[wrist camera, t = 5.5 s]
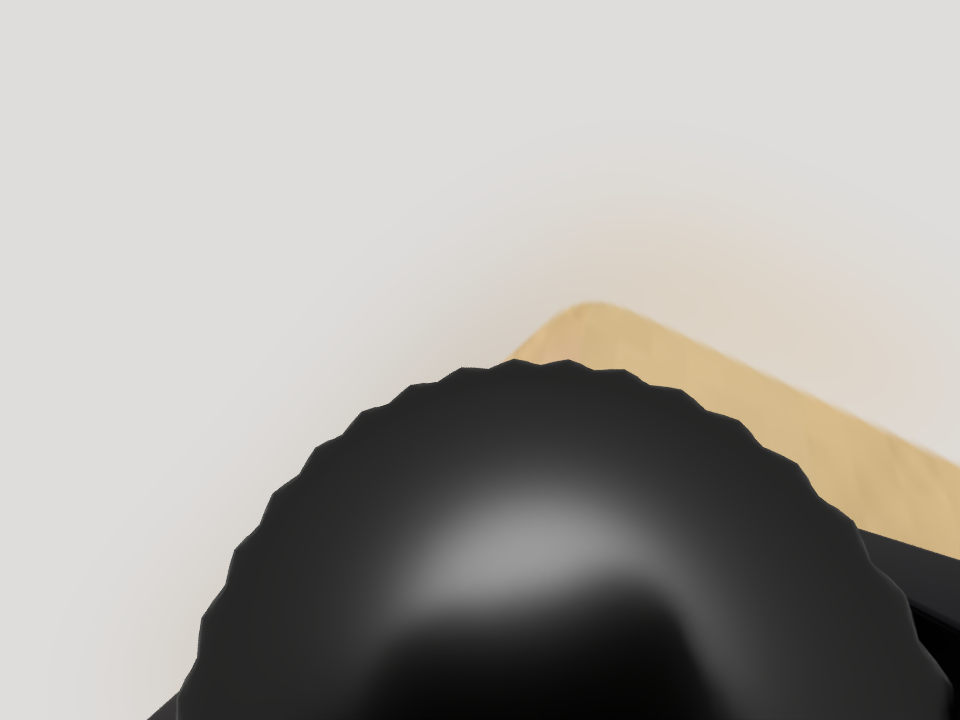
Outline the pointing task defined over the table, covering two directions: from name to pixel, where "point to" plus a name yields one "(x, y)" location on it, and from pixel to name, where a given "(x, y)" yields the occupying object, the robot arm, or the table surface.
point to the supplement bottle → (556, 571)
